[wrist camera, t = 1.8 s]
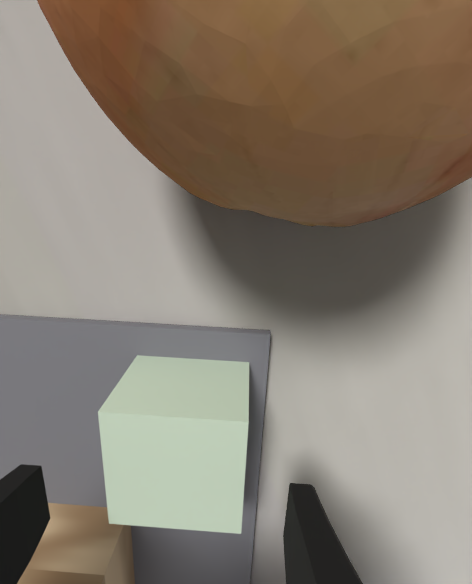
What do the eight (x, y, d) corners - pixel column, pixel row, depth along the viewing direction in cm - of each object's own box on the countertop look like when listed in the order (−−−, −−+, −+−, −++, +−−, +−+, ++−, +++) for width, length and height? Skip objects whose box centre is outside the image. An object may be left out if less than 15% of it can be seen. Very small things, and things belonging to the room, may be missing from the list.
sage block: (249, 362, 13) (248, 422, 10) (243, 453, 14) (241, 534, 11) (137, 355, 13) (97, 412, 10) (141, 446, 14) (109, 523, 11)
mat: (270, 330, 13) (270, 334, 13) (246, 612, 18) (246, 621, 18) (-97, 308, 13) (-107, 312, 13) (-18, 590, 18) (-24, 598, 18)
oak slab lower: (129, 508, 16) (104, 574, 13) (135, 594, 17) (114, 667, 15) (6, 499, 16) (-44, 563, 13) (25, 584, 18) (-16, 655, 15)
